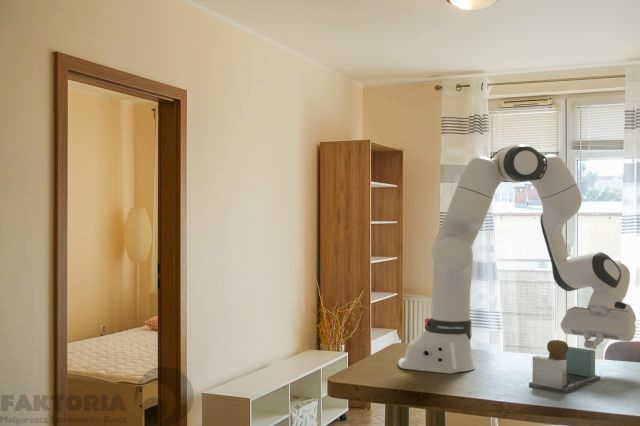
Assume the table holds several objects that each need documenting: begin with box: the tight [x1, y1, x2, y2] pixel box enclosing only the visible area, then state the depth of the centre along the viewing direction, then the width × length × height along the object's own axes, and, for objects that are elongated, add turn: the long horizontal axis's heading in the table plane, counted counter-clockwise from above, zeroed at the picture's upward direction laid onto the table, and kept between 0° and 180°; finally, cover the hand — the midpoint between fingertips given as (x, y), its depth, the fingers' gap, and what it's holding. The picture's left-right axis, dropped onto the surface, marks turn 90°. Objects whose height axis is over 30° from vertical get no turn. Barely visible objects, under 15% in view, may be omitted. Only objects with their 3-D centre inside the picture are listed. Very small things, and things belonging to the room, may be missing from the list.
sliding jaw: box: [566, 346, 596, 377], centre depth 183 cm, size 2×8×7 cm, turn 44°
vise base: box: [528, 355, 601, 395], centre depth 177 cm, size 21×10×8 cm, turn 135°
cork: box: [546, 339, 570, 385], centre depth 174 cm, size 6×6×11 cm
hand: (589, 347), depth 187 cm, fingers closed
